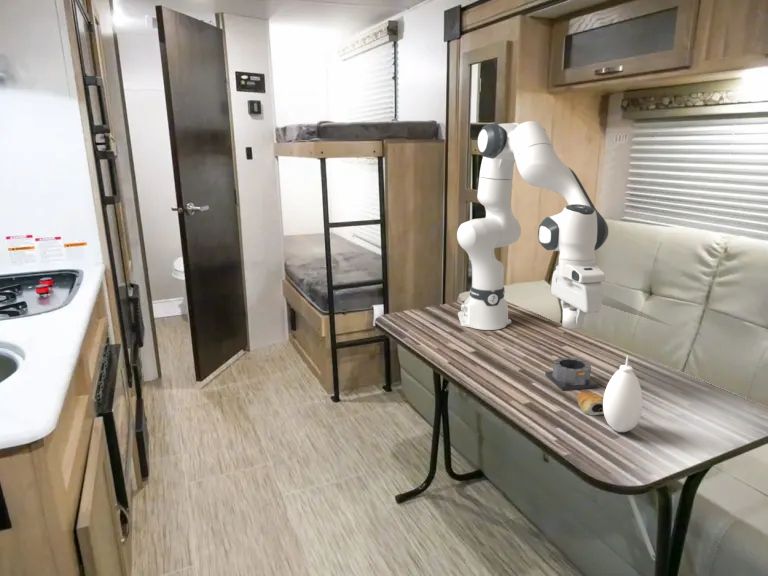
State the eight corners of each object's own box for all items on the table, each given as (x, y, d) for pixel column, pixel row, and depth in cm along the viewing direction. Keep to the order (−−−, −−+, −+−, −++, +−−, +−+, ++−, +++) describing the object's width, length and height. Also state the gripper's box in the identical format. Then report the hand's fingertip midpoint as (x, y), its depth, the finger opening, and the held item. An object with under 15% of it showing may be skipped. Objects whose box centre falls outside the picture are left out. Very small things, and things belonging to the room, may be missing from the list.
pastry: (570, 398, 132) (571, 385, 131) (596, 398, 132) (598, 384, 131) (584, 417, 123) (586, 402, 122) (613, 416, 123) (614, 401, 122)
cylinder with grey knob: (558, 323, 140) (559, 307, 139) (576, 322, 140) (577, 306, 139) (567, 329, 135) (568, 312, 134) (585, 328, 136) (587, 311, 134)
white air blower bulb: (628, 420, 120) (636, 348, 116) (645, 438, 113) (655, 361, 108) (595, 422, 120) (601, 349, 116) (610, 440, 113) (618, 362, 108)
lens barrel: (545, 375, 146) (546, 358, 145) (578, 372, 147) (579, 355, 146) (562, 390, 136) (563, 373, 135) (597, 387, 138) (599, 370, 136)
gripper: (546, 261, 144) (544, 309, 147) (584, 277, 124) (580, 332, 127) (568, 260, 144) (565, 308, 148) (609, 276, 125) (604, 331, 128)
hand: (572, 320), depth 137 cm, fingers closed on cylinder with grey knob, 5 cm apart
